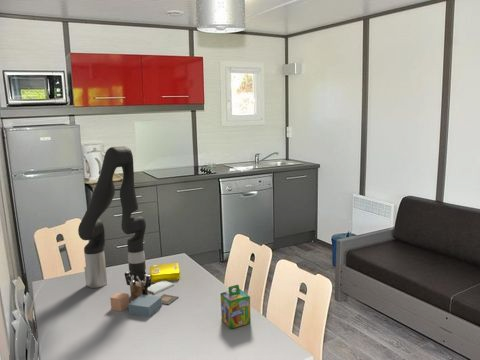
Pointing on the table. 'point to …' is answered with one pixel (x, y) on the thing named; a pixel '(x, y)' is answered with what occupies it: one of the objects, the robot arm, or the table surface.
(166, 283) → the hard drive
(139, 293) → the walnut cube
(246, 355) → the table surface
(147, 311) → the slate base block
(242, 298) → the chalk box
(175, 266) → the element tile
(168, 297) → the tile
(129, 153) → the robot arm
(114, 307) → the terracotta cube
